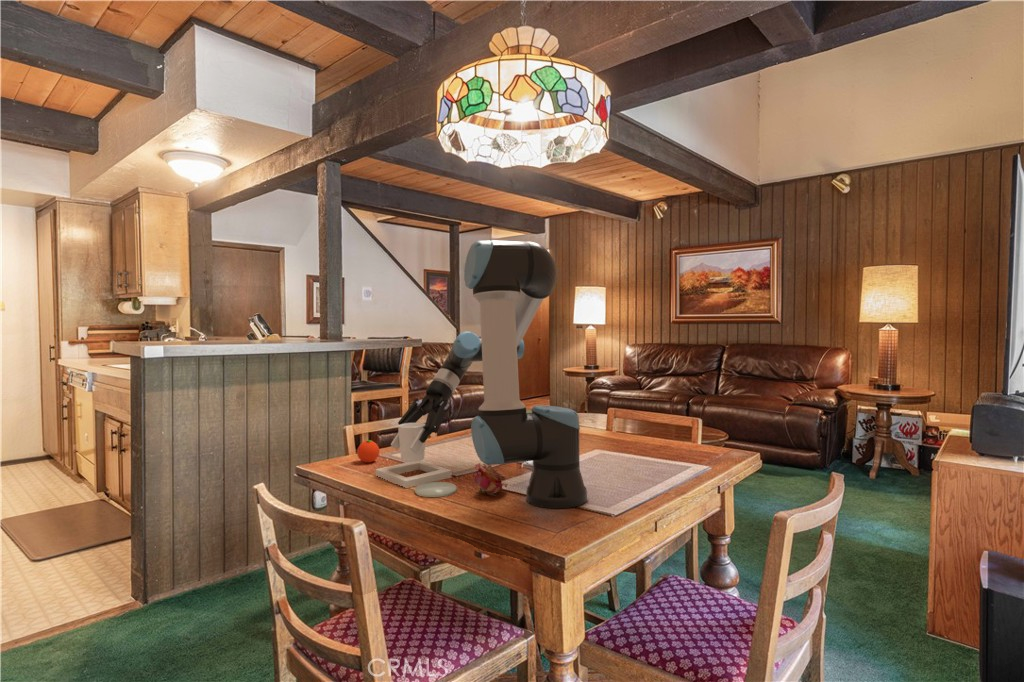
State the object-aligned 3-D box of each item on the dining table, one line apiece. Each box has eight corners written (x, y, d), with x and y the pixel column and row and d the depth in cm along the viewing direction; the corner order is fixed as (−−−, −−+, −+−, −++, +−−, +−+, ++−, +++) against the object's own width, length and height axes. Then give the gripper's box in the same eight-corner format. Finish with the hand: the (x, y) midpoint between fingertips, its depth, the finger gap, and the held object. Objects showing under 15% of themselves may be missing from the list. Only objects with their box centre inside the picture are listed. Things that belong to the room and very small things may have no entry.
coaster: (464, 491, 146) (464, 488, 146) (429, 500, 139) (429, 497, 139) (441, 482, 154) (441, 479, 154) (406, 491, 147) (406, 488, 147)
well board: (451, 477, 159) (451, 470, 159) (406, 488, 149) (406, 481, 149) (419, 466, 172) (419, 460, 172) (375, 476, 162) (375, 469, 162)
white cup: (429, 456, 164) (428, 422, 164) (422, 462, 156) (421, 427, 156) (403, 456, 165) (402, 422, 164) (395, 462, 157) (394, 427, 156)
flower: (475, 496, 136) (493, 468, 137) (458, 480, 144) (475, 454, 145) (500, 510, 142) (517, 483, 143) (482, 493, 149) (499, 468, 150)
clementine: (362, 458, 182) (361, 437, 182) (383, 458, 182) (382, 437, 182) (354, 465, 174) (353, 442, 174) (376, 465, 174) (375, 442, 174)
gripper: (473, 396, 166) (435, 461, 153) (426, 392, 178) (387, 452, 166) (460, 380, 161) (420, 445, 149) (413, 377, 174) (373, 437, 162)
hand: (403, 448), depth 157 cm, fingers closed on white cup, 7 cm apart
